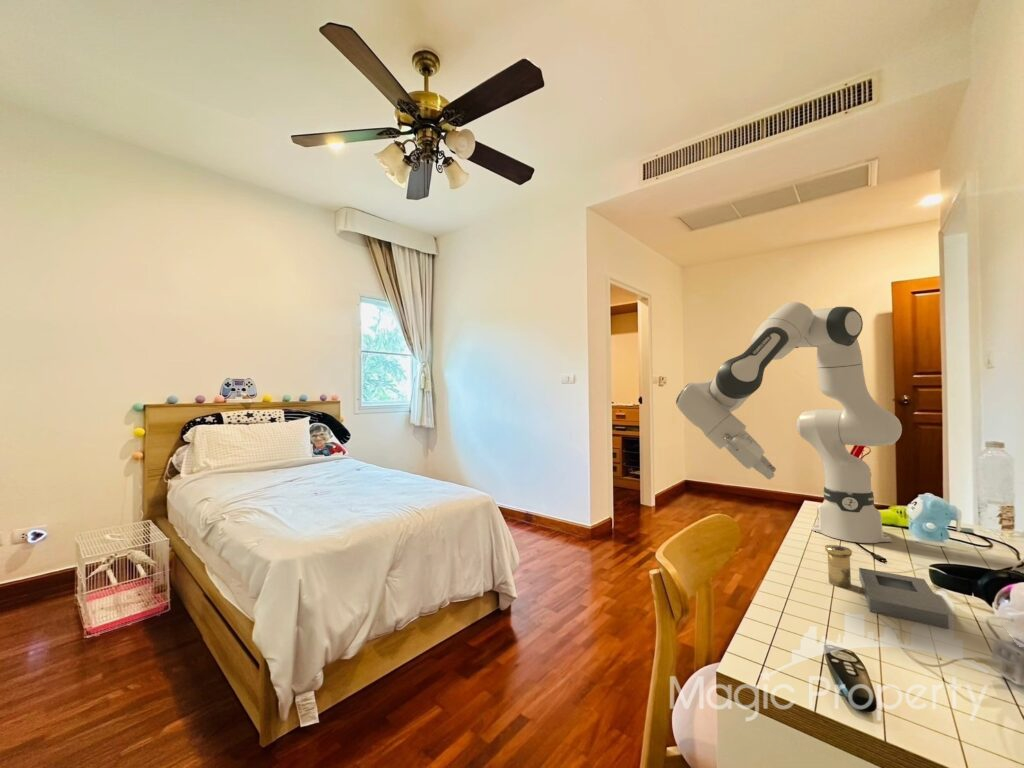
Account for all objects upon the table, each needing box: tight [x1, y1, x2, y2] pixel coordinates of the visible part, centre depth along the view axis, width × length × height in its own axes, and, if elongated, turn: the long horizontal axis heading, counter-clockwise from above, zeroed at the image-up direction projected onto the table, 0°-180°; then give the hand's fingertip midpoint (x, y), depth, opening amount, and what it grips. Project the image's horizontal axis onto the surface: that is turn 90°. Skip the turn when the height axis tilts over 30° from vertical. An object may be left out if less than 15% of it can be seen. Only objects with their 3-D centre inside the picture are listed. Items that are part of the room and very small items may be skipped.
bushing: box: [824, 544, 853, 589], centre depth 94 cm, size 5×5×8 cm
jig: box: [858, 567, 950, 630], centre depth 86 cm, size 18×11×2 cm, turn 145°
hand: (773, 474), depth 102 cm, fingers open, 8 cm apart
